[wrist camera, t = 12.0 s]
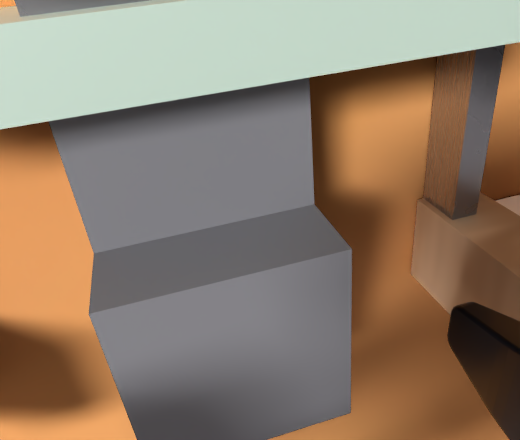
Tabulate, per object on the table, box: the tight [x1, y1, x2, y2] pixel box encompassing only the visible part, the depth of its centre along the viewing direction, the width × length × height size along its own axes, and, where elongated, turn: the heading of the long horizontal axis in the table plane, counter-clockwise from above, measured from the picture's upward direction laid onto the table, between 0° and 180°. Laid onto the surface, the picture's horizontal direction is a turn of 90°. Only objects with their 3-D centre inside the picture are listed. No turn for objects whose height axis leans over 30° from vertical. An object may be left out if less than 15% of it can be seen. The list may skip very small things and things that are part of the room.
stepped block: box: [48, 78, 352, 440], centre depth 11 cm, size 5×8×4 cm, turn 6°
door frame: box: [411, 45, 520, 321], centre depth 9 cm, size 24×13×5 cm, turn 96°
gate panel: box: [0, 0, 520, 129], centre depth 8 cm, size 13×2×4 cm, turn 96°
